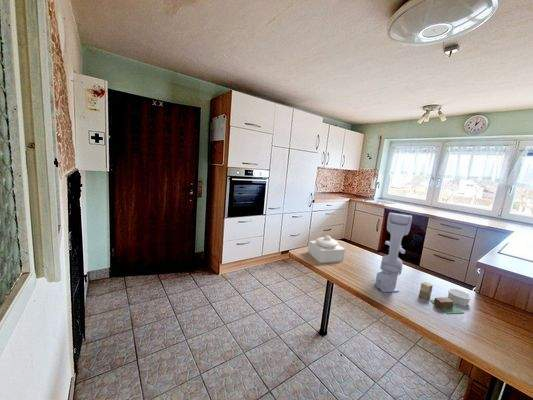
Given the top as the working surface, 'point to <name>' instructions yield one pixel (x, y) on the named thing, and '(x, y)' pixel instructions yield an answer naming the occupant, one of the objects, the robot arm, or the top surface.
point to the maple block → (425, 290)
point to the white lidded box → (326, 250)
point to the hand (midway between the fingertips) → (392, 260)
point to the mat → (450, 309)
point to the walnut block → (443, 303)
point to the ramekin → (459, 297)
